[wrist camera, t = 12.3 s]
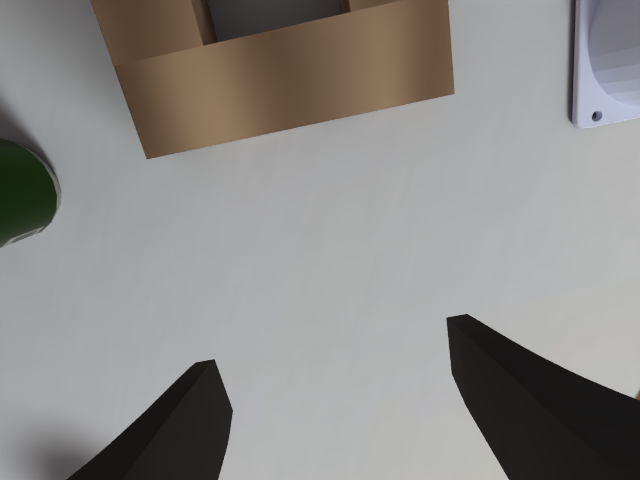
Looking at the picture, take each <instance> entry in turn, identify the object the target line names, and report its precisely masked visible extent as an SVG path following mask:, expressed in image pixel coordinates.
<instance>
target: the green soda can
mask: <svg viewBox="0 0 640 480" xmlns="http://www.w3.org/2000/svg"><path fill="white" fill-rule="evenodd" d="M60 200H61V191H60V187H59V183H58V180H57V178H56V176H55V174H54V173H53V171H52V169H51V168H50V166H49V165H48V164H47V163H46V162H45V161H44V160H43V159H42V158H41V157H40V156H39V155H38V154H36V153H34V152H33V151H31V150H29V149H27V148H26V147H24V146H22V145H20V144H17V143H15V142H13V141H9V140H5V139H2V138H0V248H1V247H4V246H6V245H9V244H11V243H14V242H16V241H19V240H21V239H24V238H26V237H29V236H32V235H34V234H37V233H39V232H41V231H42V230H44V229H45V228H46V227H47V226H48V225H49V224H50V223H51V222H52V220H53V219H54V217H55V215H56V213H57V211H58V209H59V206H60Z"/></svg>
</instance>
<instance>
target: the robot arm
mask: <svg viewBox="0 0 640 480" xmlns="http://www.w3.org/2000/svg"><path fill="white" fill-rule="evenodd" d="M594 112H596V118H595V119H594V121H593V120H592V114H593V113H594ZM639 117H640V0H576V18H575V50H574V82H573V113H572V122H573V125H574V126H575V127H576V128H590V127H595V126H600V125H605V124H610V123H615V122H620V121H625V120H629V119H634V118H639ZM447 328H448V339H449V349H450V360H451V370H452V375H453V377H454V380H455V382H456V384H457V387H458V389H459V391H460V393H461V396H462V398H463V400H464V402H465V405H466V406H467V408H468V410H469V412H470V414H471V415H472V417H473V419H474V420H475V422H476V424H477V426H478V427H479V429H480V431H481V433H482V434H483V436H484V438H485V439H486V441H487V443H488V444H489V446H490V448H491V450H492V451H493V453H494V455H495V456H496V458H497V460H498V462H499V463H500V465H501V467H502V468H503V470H504V472H505V473H506V475H507V477H508V479H509V480H640V401H639V400H637V399H634V398H632V397H629V396H627V395H624V394H621V393H619V392H616V391H614V390H612V389H609V388H607V387H605V386H602V385H600V384H598V383H595V382H593V381H591V380H588V379H586V378H584V377H582V376H579V375H577V374H575V373H573V372H571V371H569V370H567V369H565V368H563V367H561V366H559V365H557V364H555V363H553V362H551V361H549V360H547V359H545V358H543V357H541V356H539V355H537V354H535V353H533V352H532V351H530V350H528V349H526V348H524V347H522V346H521V345H519V344H517V343H515V342H514V341H512V340H510V339H508V338H507V337H505V336H503V335H502V334H500V333H498V332H497V331H495V330H493V329H492V328H490V327H488V326H487V325H485V324H483V323H482V322H480V321H478V320H477V319H475V318H473V317H471V316H470V315H468V314H464V315H459V316H453V317H447ZM232 413H233V409H232V407H231V404H230V401H229V398H228V396H227V393H226V390H225V387H224V384H223V382H222V379H221V376H220V373H219V370H218V368H217V365H216V362H215V359H213V360H207V361H202V362H196V363H195V364H194V365H192V366H191V367H190V368H189V369H188V370H187V371H186V372H185V373H184V374H183V375H182V376H181V377H179V378H178V379H177V380H176V381H175V382H174V383H173V384H172V385H171V386H170V387H169V388H168V389H167V390H166V391H165V392H164V393H163V394H162V395H161V396H160V397H159V398H158V399H157V400H156V401H155V402H154V403H153V404H152V405H151V406H150V407H149V408H148V409H147V410H146V411H145V412H144V413H143V414H142V415H141V416H140V417H139V418H137V419H136V420H135V421H134V422H133V423H132V424H131V425H130V426H129V427H128V428H127V429H126V430H124V431H123V432H122V433H121V434H120V435H119V436H118V437H117V438H116V439H115V440H114V441H112V442H111V443H110V444H109V445H108V446H107V447H106V448H105V449H103V450H102V451H101V452H100V453H99V454H98V455H96V456H95V457H94V458H93V459H92V460H90V461H89V462H88V463H87V464H85V465H84V466H83V467H82V468H80V469H79V470H78V471H77V472H76V473H74V474H73V475H72V476H71V477H69V478H68V479H67V480H218V478H219V474H220V471H221V467H222V463H223V460H224V456H225V453H226V449H227V445H228V440H229V434H230V427H231V420H232Z"/></svg>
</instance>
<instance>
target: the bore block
mask: <svg viewBox="0 0 640 480" xmlns="http://www.w3.org/2000/svg"><path fill="white" fill-rule="evenodd" d="M91 3H92V6H93V9H94V12H95V14H96V17H97V20H98V23H99V26H100V29H101V31H102V34H103V37H104V40H105V43H106V45H107V48H108V51H109V54H110V57H111V60H112V62H113V65H114V68H115V71H116V74H117V76H118V79H119V82H120V85H121V88H122V91H123V93H124V96H125V99H126V102H127V105H128V107H129V110H130V113H131V116H132V119H133V122H134V124H135V127H136V130H137V133H138V136H139V138H140V141H141V144H142V147H143V150H144V153H145V155H146V158H147V159H151V158H155V157H160V156H165V155H169V154H174V153H179V152H183V151H188V150H193V149H198V148H202V147H207V146H212V145H216V144H221V143H226V142H230V141H235V140H240V139H245V138H249V137H254V136H259V135H263V134H268V133H273V132H277V131H282V130H287V129H292V128H296V127H301V126H306V125H310V124H315V123H320V122H324V121H329V120H334V119H339V118H343V117H348V116H353V115H357V114H362V113H367V112H371V111H376V110H381V109H386V108H390V107H395V106H400V105H404V104H409V103H414V102H418V101H423V100H428V99H433V98H437V97H442V96H447V95H451V94H454V80H453V65H452V51H451V37H450V23H449V9H448V0H340V3H341V9H342V14H340V15H336V16H331V17H327V18H323V19H318V20H314V21H309V22H305V23H301V24H296V25H292V26H288V27H283V28H279V29H274V30H270V31H266V32H261V33H257V34H253V35H248V36H244V37H239V38H235V39H231V40H226V41H222V42H217V38H216V34H215V30H214V26H213V23H212V19H211V15H210V11H209V7H208V4H207V0H91Z"/></svg>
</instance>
